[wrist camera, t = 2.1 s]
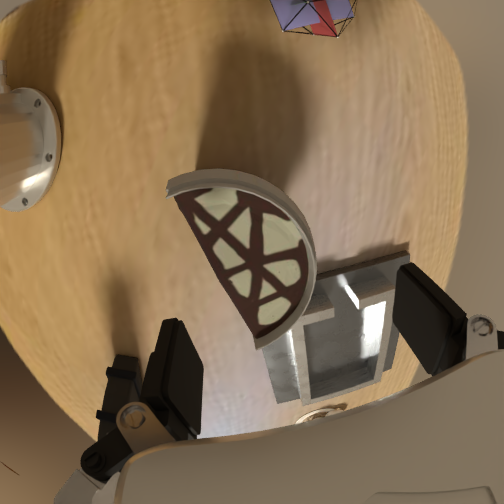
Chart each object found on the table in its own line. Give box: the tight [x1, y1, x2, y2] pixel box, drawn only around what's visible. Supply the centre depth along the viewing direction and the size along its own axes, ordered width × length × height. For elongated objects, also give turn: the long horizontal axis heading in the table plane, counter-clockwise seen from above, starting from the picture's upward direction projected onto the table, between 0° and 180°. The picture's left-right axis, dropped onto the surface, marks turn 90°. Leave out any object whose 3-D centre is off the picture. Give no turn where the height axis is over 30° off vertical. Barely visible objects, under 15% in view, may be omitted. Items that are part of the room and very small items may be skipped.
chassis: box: [262, 251, 410, 406], centre depth 30 cm, size 20×18×4 cm
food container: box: [166, 168, 317, 350], centre depth 19 cm, size 12×6×10 cm, turn 23°
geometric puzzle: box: [270, 0, 357, 38], centre depth 13 cm, size 7×7×8 cm
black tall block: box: [96, 355, 142, 441], centre depth 27 cm, size 4×13×15 cm, turn 170°
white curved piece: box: [295, 408, 344, 424], centre depth 40 cm, size 9×8×4 cm
